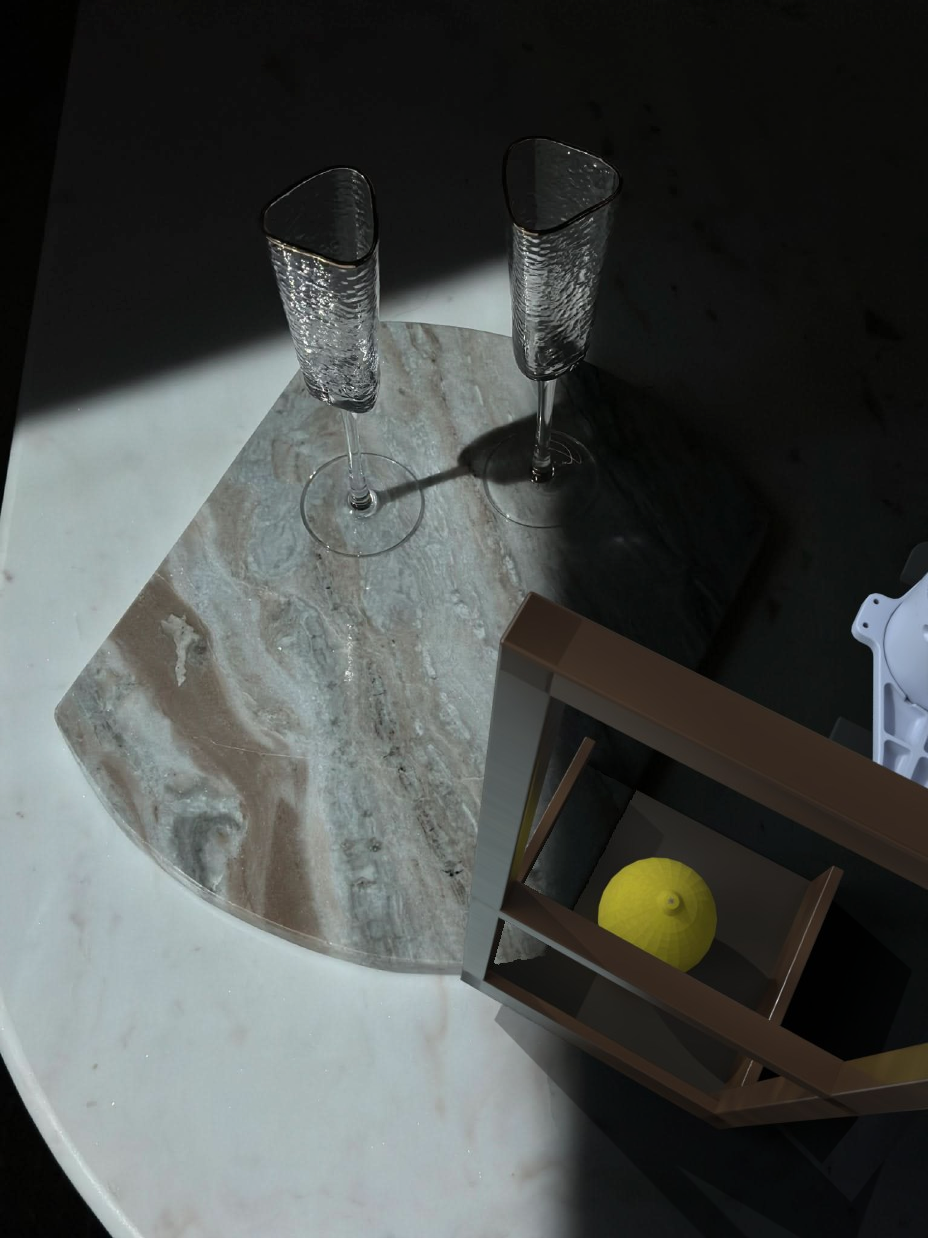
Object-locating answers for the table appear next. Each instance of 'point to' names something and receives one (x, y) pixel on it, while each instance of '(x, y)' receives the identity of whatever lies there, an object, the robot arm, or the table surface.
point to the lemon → (661, 910)
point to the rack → (737, 877)
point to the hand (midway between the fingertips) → (877, 731)
